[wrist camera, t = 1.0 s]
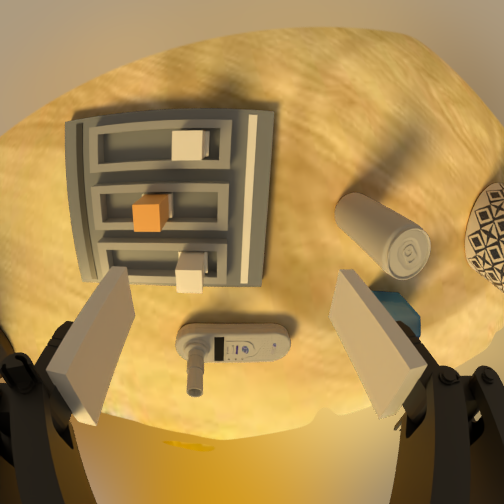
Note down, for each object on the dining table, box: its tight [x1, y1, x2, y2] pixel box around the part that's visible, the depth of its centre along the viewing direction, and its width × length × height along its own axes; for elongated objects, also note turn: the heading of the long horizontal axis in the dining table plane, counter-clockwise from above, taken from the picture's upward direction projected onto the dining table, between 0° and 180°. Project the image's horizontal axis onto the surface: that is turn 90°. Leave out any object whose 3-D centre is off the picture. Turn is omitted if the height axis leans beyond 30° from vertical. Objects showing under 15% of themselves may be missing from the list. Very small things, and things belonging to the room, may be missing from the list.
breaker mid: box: [132, 192, 174, 232], centre depth 24 cm, size 3×2×5 cm
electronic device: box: [175, 323, 291, 397], centre depth 32 cm, size 5×10×15 cm
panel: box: [65, 108, 274, 287], centre depth 27 cm, size 22×19×3 cm
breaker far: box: [175, 251, 208, 293], centre depth 27 cm, size 3×2×5 cm
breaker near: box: [172, 130, 210, 161], centre depth 22 cm, size 3×2×5 cm
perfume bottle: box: [372, 291, 421, 339], centre depth 31 cm, size 6×6×12 cm
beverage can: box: [335, 193, 431, 280], centre depth 25 cm, size 5×5×12 cm
